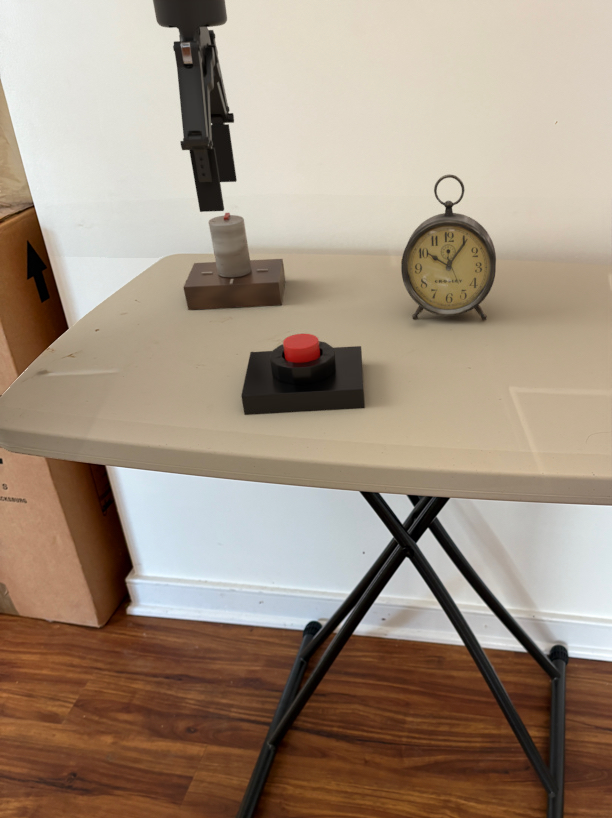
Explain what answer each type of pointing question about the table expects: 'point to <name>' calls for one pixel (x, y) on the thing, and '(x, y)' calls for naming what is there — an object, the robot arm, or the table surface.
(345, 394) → the switch block
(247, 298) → the panel
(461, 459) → the table surface
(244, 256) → the dimmer knob
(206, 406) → the table surface
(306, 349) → the light button
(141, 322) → the table surface
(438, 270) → the alarm clock
